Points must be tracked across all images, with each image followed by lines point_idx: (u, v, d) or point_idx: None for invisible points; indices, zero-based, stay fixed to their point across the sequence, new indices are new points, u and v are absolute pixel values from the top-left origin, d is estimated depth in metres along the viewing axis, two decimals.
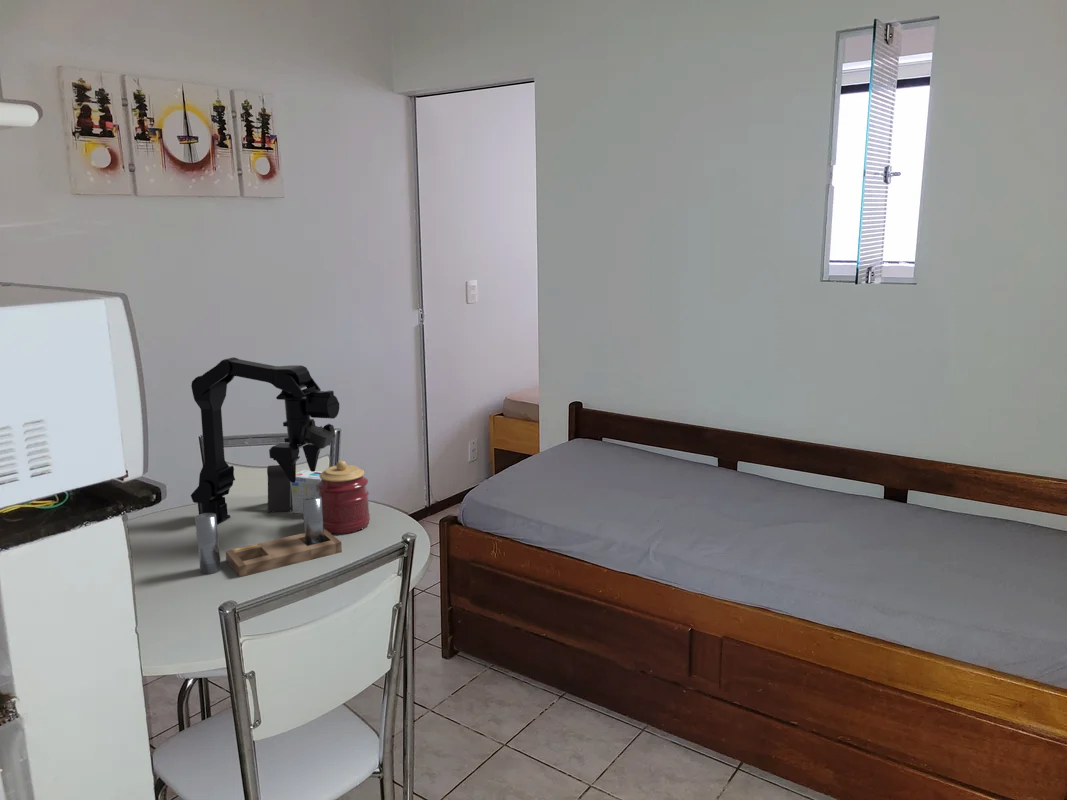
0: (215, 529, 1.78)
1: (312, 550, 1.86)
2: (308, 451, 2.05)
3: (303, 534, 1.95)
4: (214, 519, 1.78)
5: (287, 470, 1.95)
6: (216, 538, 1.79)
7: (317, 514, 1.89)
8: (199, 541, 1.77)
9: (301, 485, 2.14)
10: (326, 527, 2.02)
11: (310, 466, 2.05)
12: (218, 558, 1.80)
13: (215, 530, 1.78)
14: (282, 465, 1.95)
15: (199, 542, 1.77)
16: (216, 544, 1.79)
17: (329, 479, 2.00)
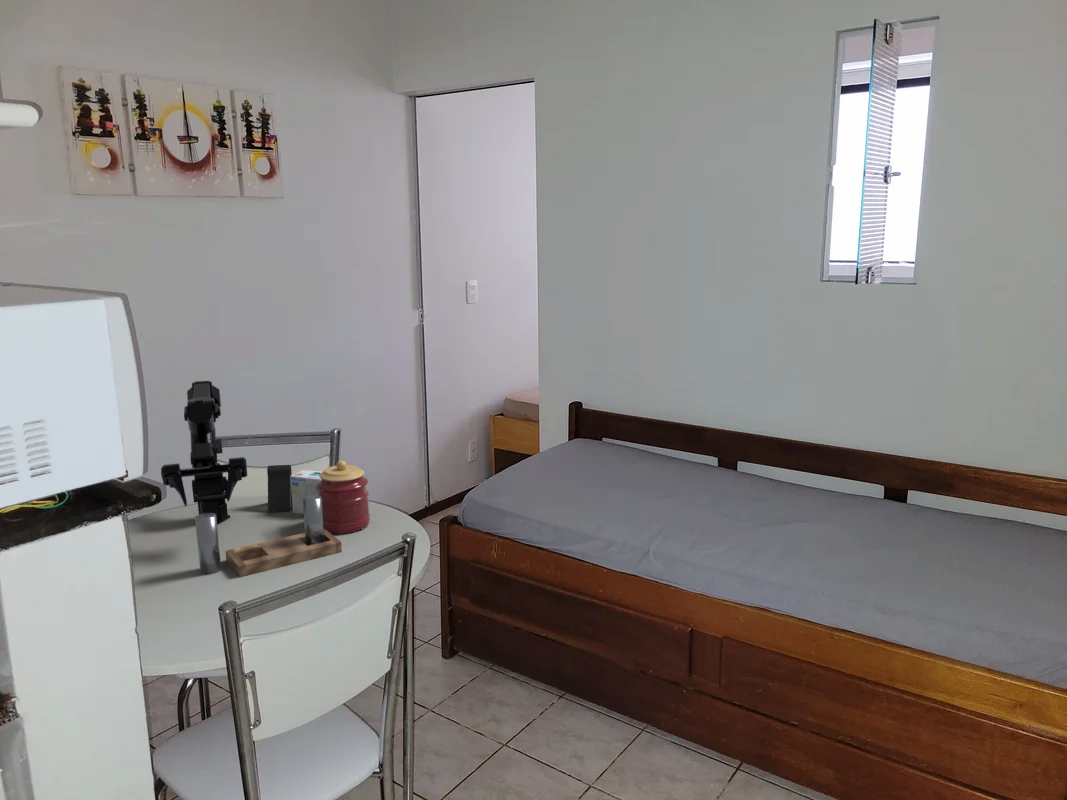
0: (215, 529, 1.78)
1: (312, 550, 1.86)
2: None
3: (303, 534, 1.95)
4: (214, 519, 1.78)
5: None
6: (216, 538, 1.79)
7: (317, 514, 1.89)
8: (199, 541, 1.77)
9: (302, 485, 2.14)
10: (326, 527, 2.02)
11: None
12: (218, 558, 1.80)
13: (215, 530, 1.78)
14: (178, 491, 1.87)
15: (199, 542, 1.77)
16: (216, 544, 1.79)
17: (329, 479, 2.00)
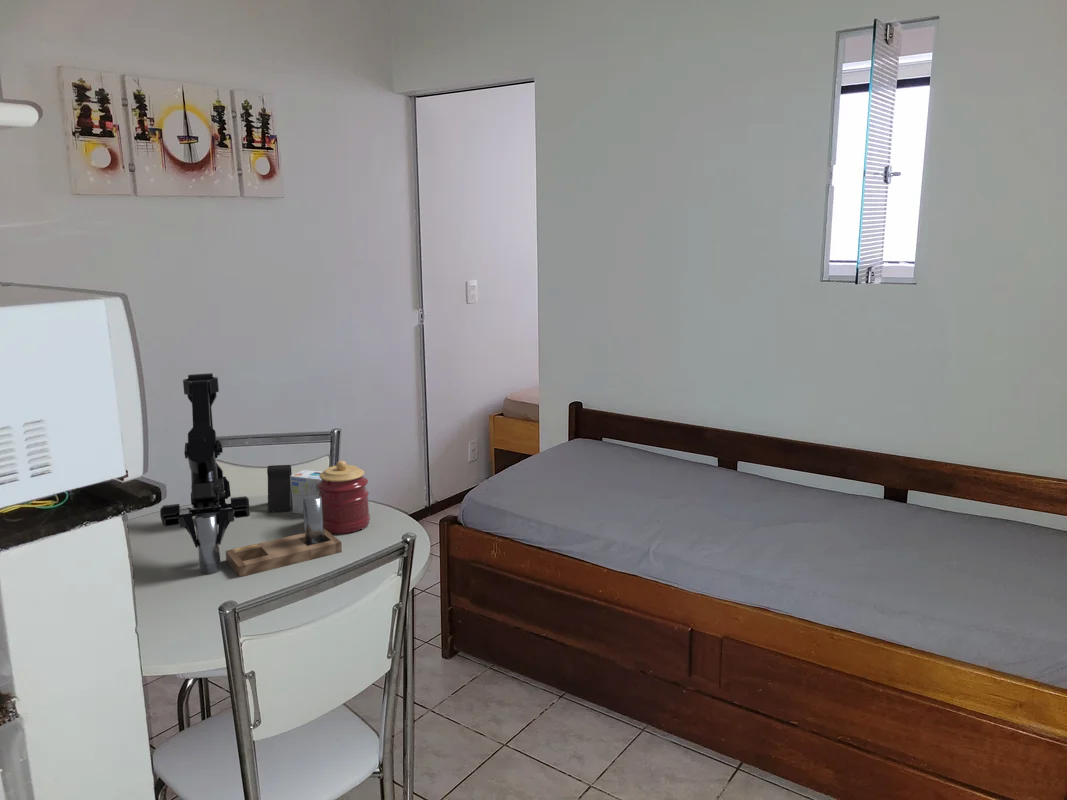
0: (215, 529, 1.78)
1: (312, 550, 1.86)
2: None
3: (303, 534, 1.95)
4: (214, 519, 1.78)
5: (191, 534, 1.79)
6: (216, 538, 1.79)
7: (317, 514, 1.89)
8: (199, 541, 1.77)
9: (302, 485, 2.14)
10: (326, 527, 2.02)
11: None
12: (218, 558, 1.80)
13: (215, 530, 1.78)
14: (188, 531, 1.80)
15: (199, 542, 1.77)
16: (216, 544, 1.79)
17: (329, 479, 2.00)
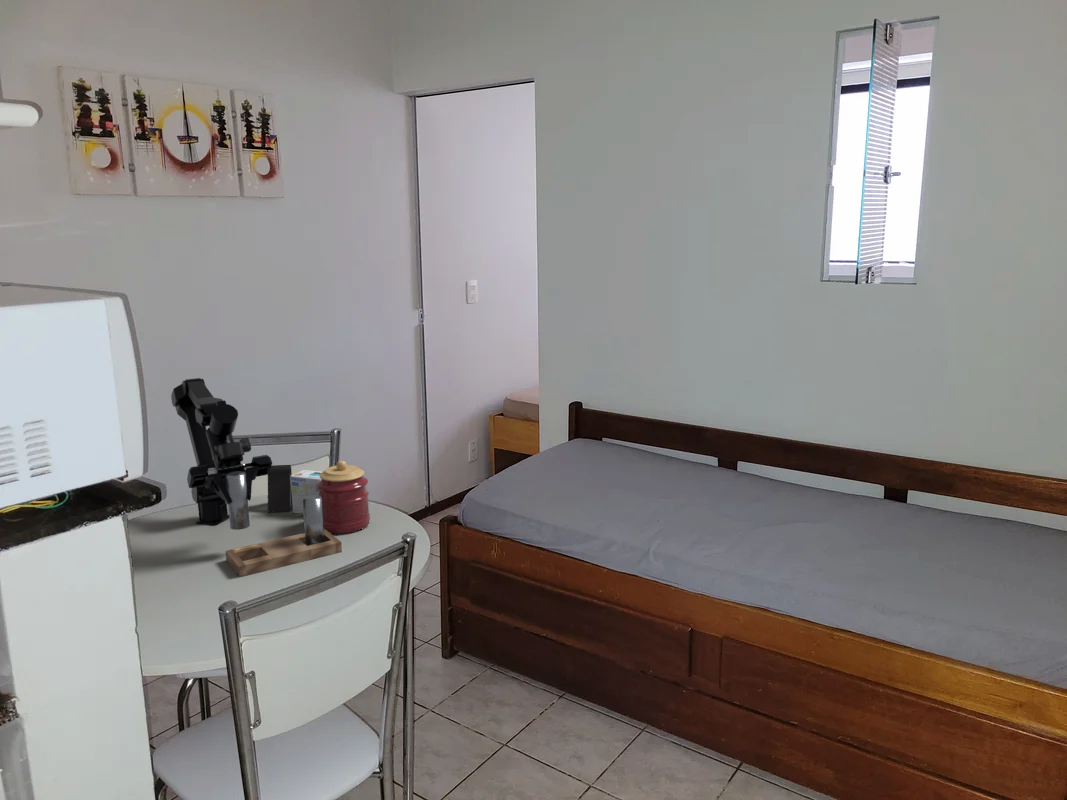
0: (246, 486, 1.87)
1: (312, 550, 1.86)
2: None
3: (303, 534, 1.95)
4: (245, 476, 1.87)
5: (220, 493, 1.86)
6: (246, 494, 1.88)
7: (317, 514, 1.89)
8: (231, 498, 1.85)
9: (301, 485, 2.14)
10: (326, 527, 2.02)
11: (247, 495, 1.89)
12: (248, 513, 1.89)
13: (246, 486, 1.87)
14: (216, 490, 1.87)
15: (231, 499, 1.85)
16: (247, 500, 1.88)
17: (329, 479, 2.00)
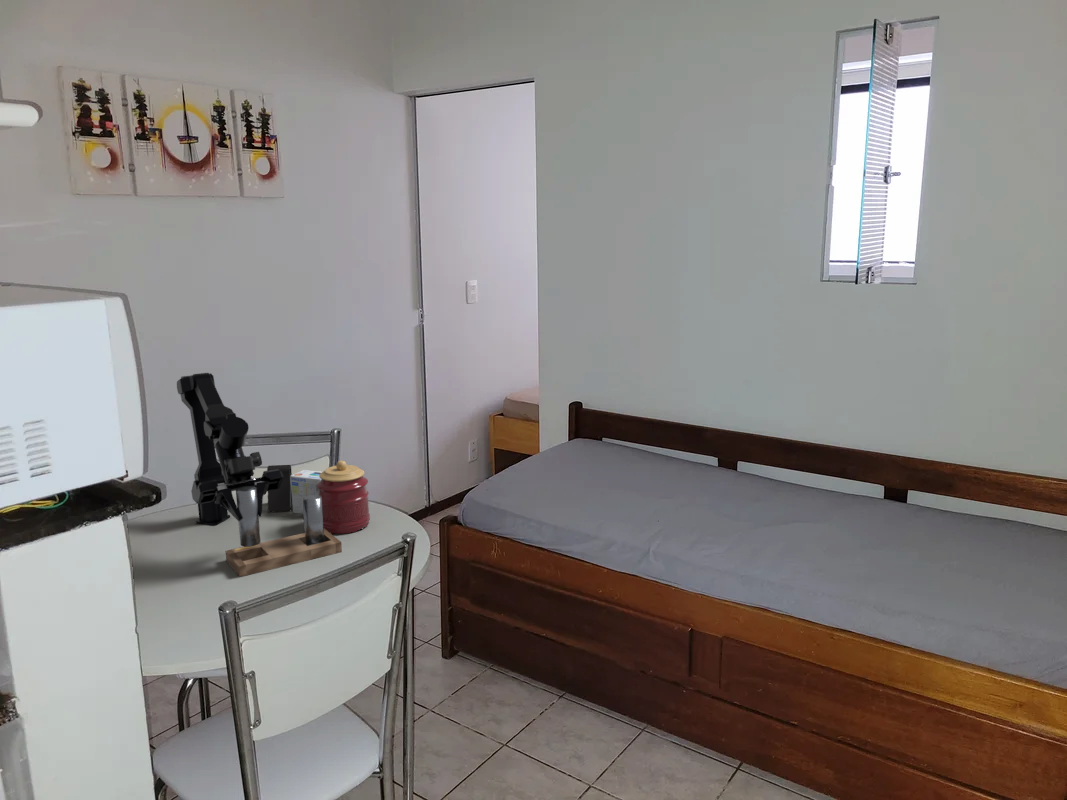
0: (256, 501, 1.81)
1: (312, 550, 1.86)
2: None
3: (303, 534, 1.95)
4: (256, 491, 1.81)
5: (230, 509, 1.80)
6: (257, 510, 1.82)
7: (317, 514, 1.89)
8: (242, 514, 1.79)
9: (301, 485, 2.14)
10: (326, 527, 2.02)
11: None
12: (259, 530, 1.83)
13: (256, 502, 1.81)
14: (226, 506, 1.81)
15: (242, 515, 1.79)
16: (257, 516, 1.82)
17: (329, 479, 2.00)
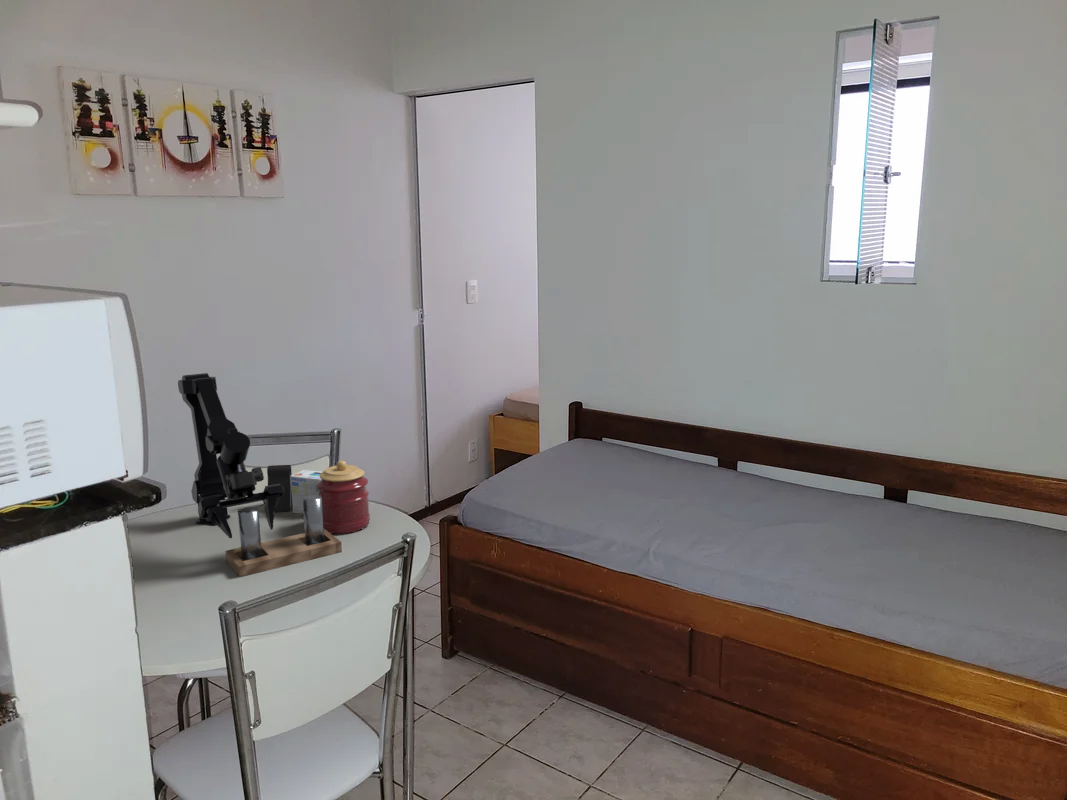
0: (258, 522, 1.82)
1: (312, 550, 1.86)
2: (266, 510, 1.87)
3: (303, 534, 1.95)
4: (258, 513, 1.81)
5: (222, 526, 1.80)
6: (259, 531, 1.82)
7: (317, 514, 1.89)
8: (244, 535, 1.80)
9: (301, 485, 2.14)
10: (326, 527, 2.02)
11: (269, 524, 1.85)
12: (261, 551, 1.84)
13: (258, 523, 1.82)
14: (217, 524, 1.81)
15: (244, 536, 1.80)
16: (259, 537, 1.83)
17: (329, 479, 2.00)
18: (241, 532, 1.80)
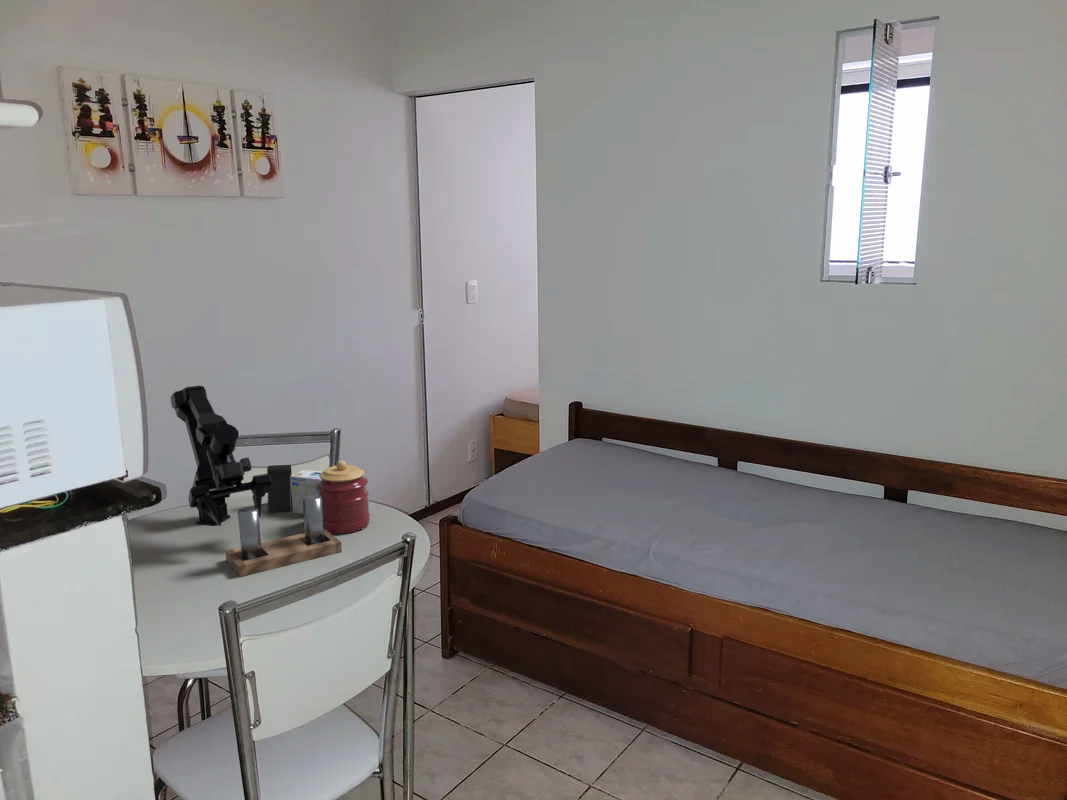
0: (258, 522, 1.82)
1: (312, 550, 1.86)
2: (254, 499, 1.94)
3: (303, 534, 1.95)
4: (257, 513, 1.81)
5: (211, 514, 1.87)
6: (259, 531, 1.82)
7: (317, 514, 1.89)
8: (244, 535, 1.80)
9: (302, 485, 2.14)
10: (326, 527, 2.02)
11: None
12: (261, 551, 1.84)
13: (258, 523, 1.82)
14: (207, 512, 1.88)
15: (244, 536, 1.80)
16: (259, 537, 1.83)
17: (329, 479, 2.00)
18: (241, 532, 1.80)
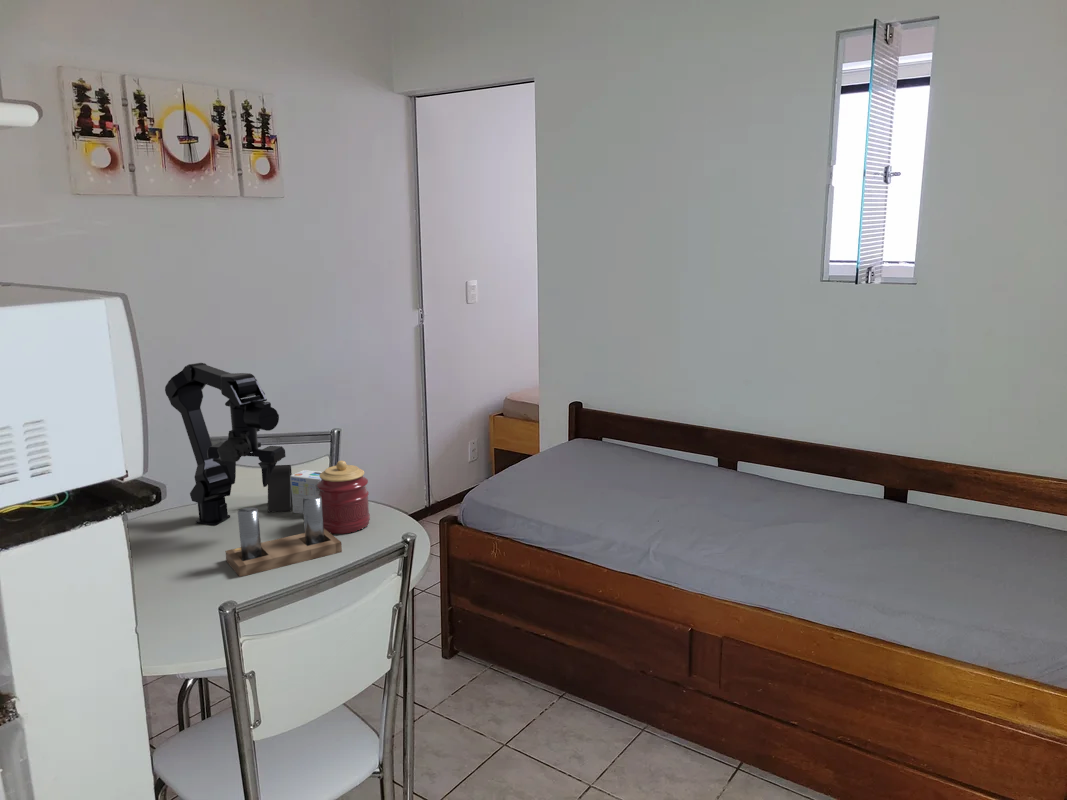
0: (258, 522, 1.82)
1: (312, 550, 1.86)
2: None
3: (303, 534, 1.95)
4: (257, 512, 1.81)
5: None
6: (259, 531, 1.83)
7: (317, 514, 1.89)
8: (244, 535, 1.80)
9: (301, 485, 2.14)
10: (326, 527, 2.02)
11: None
12: (261, 551, 1.84)
13: (258, 523, 1.82)
14: None
15: (244, 536, 1.80)
16: (259, 537, 1.83)
17: (329, 479, 2.00)
18: (241, 532, 1.80)
